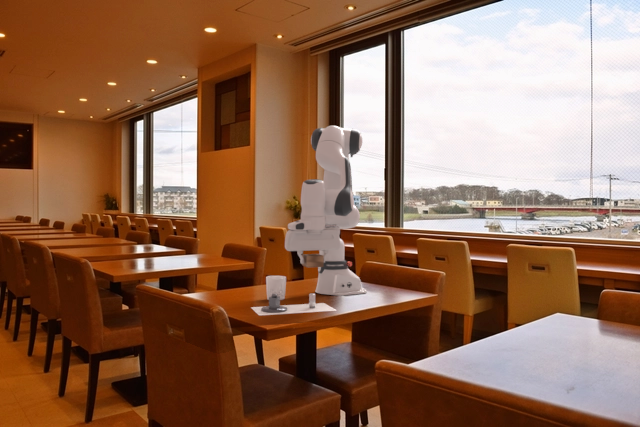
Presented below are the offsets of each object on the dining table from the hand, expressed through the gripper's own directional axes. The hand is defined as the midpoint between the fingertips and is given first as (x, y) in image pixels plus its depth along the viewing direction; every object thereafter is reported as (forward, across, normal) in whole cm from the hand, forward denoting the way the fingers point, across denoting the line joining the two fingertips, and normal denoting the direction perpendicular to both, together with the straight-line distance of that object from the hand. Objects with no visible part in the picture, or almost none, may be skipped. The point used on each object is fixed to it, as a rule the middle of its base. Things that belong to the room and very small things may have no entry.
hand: (312, 262), depth 185 cm
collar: (+1, 0, 0) cm, 1 cm away
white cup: (+18, +8, -21) cm, 29 cm away
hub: (+16, +14, 0) cm, 21 cm away
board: (+18, +7, 0) cm, 19 cm away
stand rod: (+16, 0, 0) cm, 16 cm away
